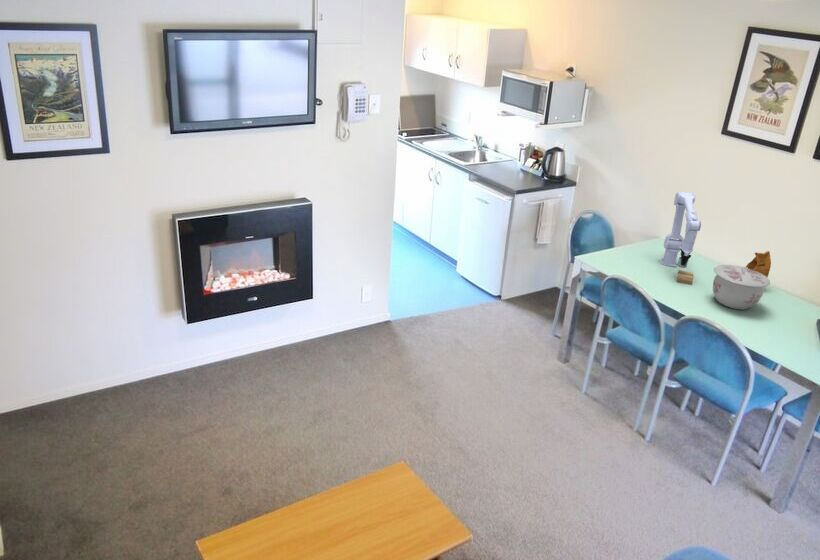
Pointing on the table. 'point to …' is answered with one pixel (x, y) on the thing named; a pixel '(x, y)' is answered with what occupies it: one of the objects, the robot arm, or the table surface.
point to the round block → (680, 263)
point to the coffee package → (761, 263)
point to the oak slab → (685, 275)
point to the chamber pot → (738, 286)
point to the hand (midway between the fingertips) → (682, 263)
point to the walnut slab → (684, 281)
